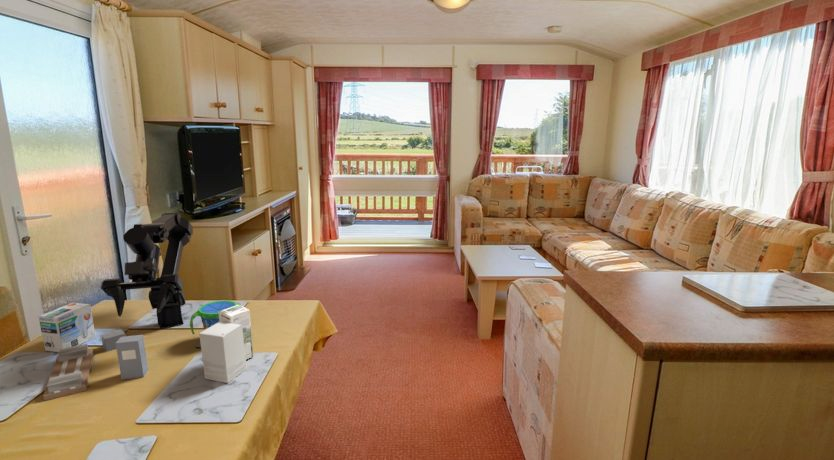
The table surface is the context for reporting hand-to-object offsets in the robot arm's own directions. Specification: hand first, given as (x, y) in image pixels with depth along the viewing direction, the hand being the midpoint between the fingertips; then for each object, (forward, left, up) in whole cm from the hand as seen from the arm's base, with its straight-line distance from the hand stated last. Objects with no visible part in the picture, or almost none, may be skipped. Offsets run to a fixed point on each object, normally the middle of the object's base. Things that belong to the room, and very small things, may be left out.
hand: (138, 314), depth 118 cm
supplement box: (-17, +20, -13) cm, 30 cm away
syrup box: (-22, +14, -13) cm, 29 cm away
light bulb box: (+18, -22, -14) cm, 32 cm away
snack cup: (-20, -2, -13) cm, 24 cm away
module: (+2, +8, -13) cm, 16 cm away
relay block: (+7, -13, -13) cm, 20 cm away
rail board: (+16, -1, -13) cm, 21 cm away
